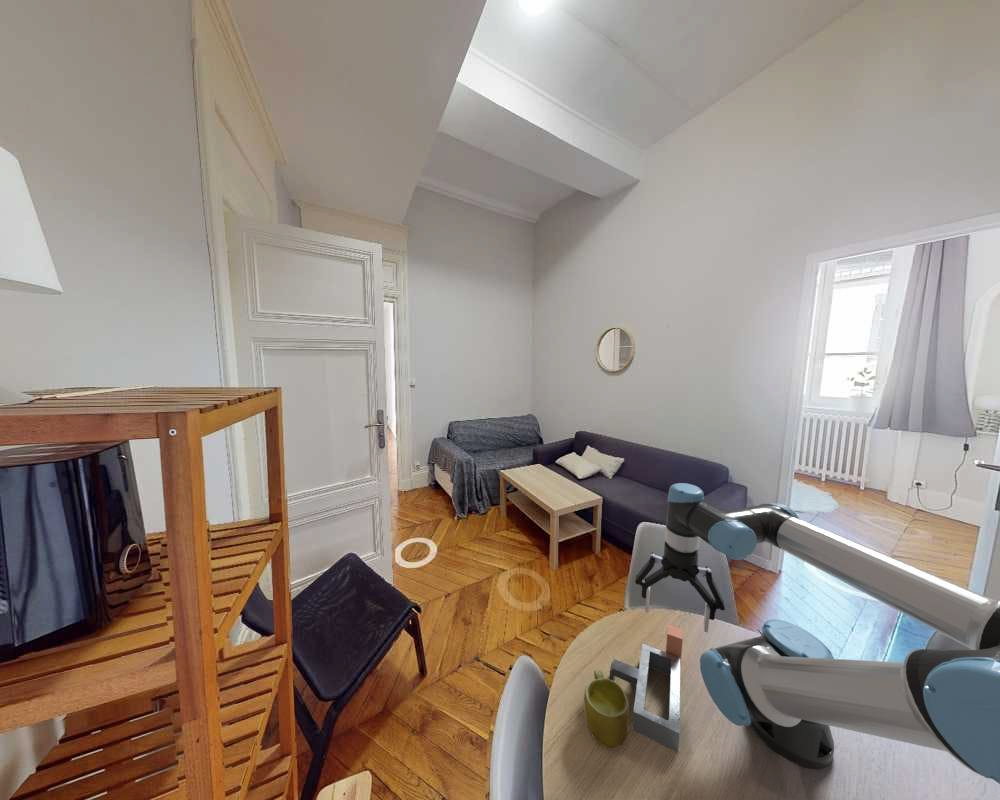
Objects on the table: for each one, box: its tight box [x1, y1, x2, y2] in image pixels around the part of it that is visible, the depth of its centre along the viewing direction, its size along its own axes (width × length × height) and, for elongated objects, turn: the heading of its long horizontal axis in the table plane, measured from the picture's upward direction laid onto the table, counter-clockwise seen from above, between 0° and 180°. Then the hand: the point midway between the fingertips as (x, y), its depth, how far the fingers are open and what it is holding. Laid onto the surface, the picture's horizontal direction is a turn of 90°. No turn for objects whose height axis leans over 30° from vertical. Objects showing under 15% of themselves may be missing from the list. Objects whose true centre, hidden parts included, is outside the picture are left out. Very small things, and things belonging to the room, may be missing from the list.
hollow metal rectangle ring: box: [609, 643, 681, 753], centre depth 81 cm, size 16×19×5 cm
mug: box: [583, 669, 630, 749], centre depth 75 cm, size 12×10×10 cm
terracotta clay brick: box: [665, 623, 684, 666], centre depth 88 cm, size 4×4×10 cm
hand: (675, 618), depth 87 cm, fingers open, 13 cm apart
